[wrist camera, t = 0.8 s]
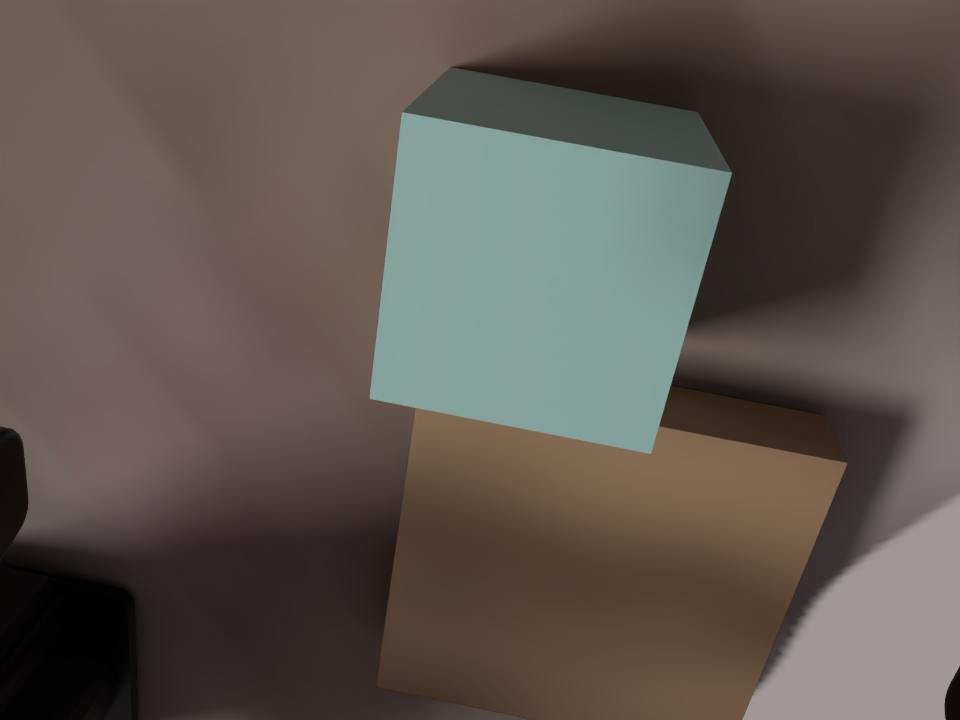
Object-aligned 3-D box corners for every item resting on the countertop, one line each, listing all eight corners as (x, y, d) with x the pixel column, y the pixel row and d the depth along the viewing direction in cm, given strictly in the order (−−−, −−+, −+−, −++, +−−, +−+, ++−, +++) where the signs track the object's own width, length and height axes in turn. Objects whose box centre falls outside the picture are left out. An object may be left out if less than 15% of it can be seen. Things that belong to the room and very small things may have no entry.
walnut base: (716, 697, 24) (725, 759, 22) (392, 631, 24) (376, 686, 23) (825, 415, 20) (847, 463, 18) (435, 339, 20) (419, 379, 19)
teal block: (638, 335, 20) (650, 453, 15) (419, 294, 20) (368, 398, 16) (697, 111, 18) (731, 173, 13) (451, 66, 18) (402, 111, 13)
